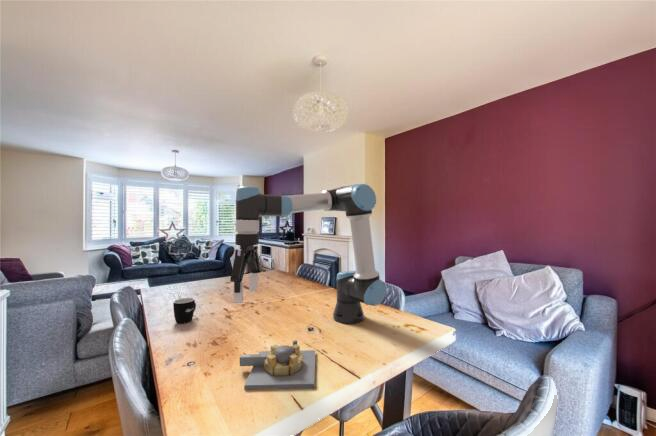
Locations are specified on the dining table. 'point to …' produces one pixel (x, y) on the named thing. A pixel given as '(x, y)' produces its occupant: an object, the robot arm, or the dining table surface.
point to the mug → (184, 310)
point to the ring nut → (270, 361)
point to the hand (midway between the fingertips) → (246, 296)
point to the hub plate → (296, 380)
